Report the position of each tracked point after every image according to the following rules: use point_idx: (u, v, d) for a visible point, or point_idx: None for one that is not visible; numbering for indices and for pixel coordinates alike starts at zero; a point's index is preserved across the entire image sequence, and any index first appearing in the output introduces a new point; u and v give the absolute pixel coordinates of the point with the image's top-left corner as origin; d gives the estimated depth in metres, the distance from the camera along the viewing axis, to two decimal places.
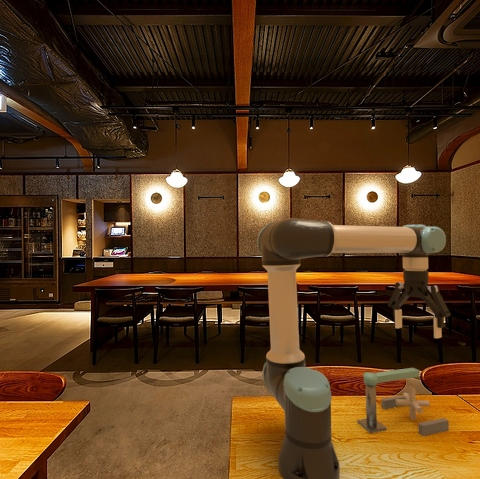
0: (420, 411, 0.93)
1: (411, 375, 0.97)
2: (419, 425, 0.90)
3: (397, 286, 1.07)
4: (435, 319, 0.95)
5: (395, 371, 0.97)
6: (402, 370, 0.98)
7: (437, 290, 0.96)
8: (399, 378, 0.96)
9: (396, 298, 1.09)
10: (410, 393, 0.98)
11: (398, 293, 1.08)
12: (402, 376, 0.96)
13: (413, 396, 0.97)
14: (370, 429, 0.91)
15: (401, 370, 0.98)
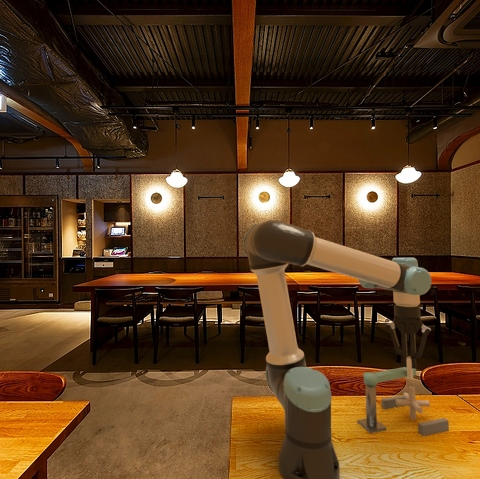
0: (420, 411, 0.93)
1: None
2: (419, 425, 0.90)
3: (390, 328, 0.99)
4: (410, 360, 0.95)
5: (393, 370, 0.98)
6: (400, 369, 0.99)
7: None
8: (397, 377, 0.97)
9: (398, 342, 0.99)
10: (410, 393, 0.98)
11: (395, 335, 0.99)
12: (400, 375, 0.97)
13: (413, 396, 0.97)
14: (370, 429, 0.91)
15: (399, 369, 0.99)
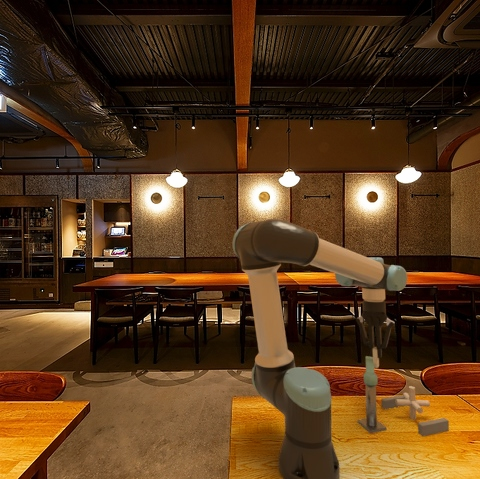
0: (420, 411, 0.93)
1: None
2: (419, 425, 0.90)
3: (359, 321, 1.09)
4: (376, 351, 1.05)
5: (368, 364, 1.04)
6: (368, 361, 1.06)
7: None
8: None
9: (366, 334, 1.09)
10: (410, 393, 0.98)
11: (363, 327, 1.09)
12: None
13: (413, 396, 0.97)
14: (370, 429, 0.91)
15: (368, 361, 1.06)
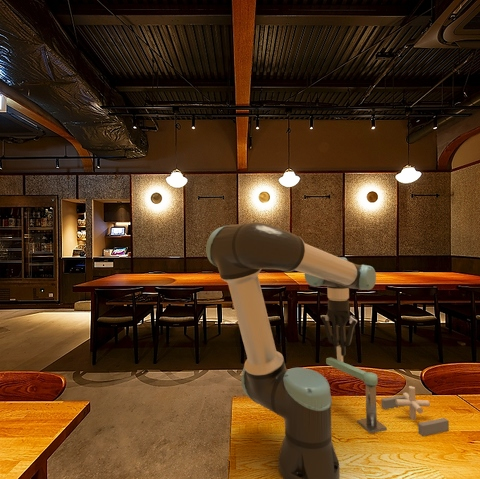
0: (420, 411, 0.93)
1: None
2: (419, 425, 0.90)
3: (324, 320, 1.11)
4: (340, 348, 1.08)
5: (345, 365, 1.03)
6: (338, 362, 1.05)
7: (355, 324, 1.07)
8: None
9: (331, 332, 1.12)
10: (410, 393, 0.98)
11: (329, 326, 1.12)
12: None
13: (413, 396, 0.97)
14: (370, 429, 0.91)
15: (339, 362, 1.05)
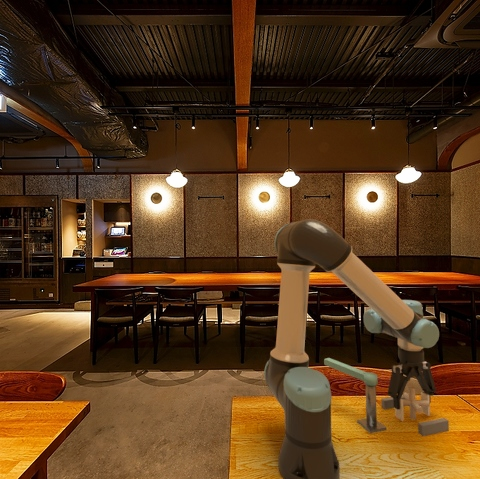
0: (420, 411, 0.93)
1: None
2: (419, 425, 0.90)
3: None
4: None
5: (343, 365, 1.03)
6: (337, 363, 1.05)
7: (395, 371, 0.96)
8: None
9: (428, 381, 1.00)
10: (410, 393, 0.98)
11: (425, 374, 1.00)
12: None
13: (413, 396, 0.97)
14: (370, 429, 0.91)
15: (337, 363, 1.05)
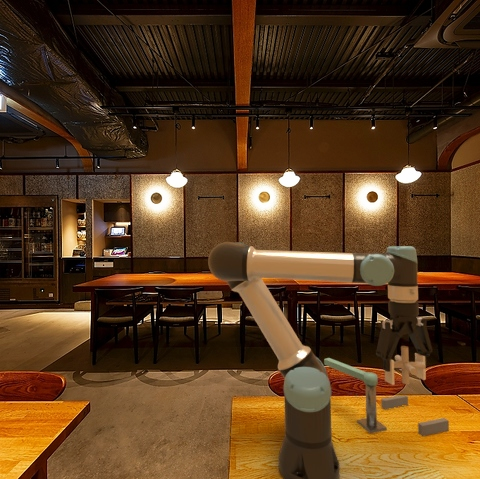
0: (414, 372, 0.79)
1: None
2: (419, 425, 0.90)
3: None
4: None
5: (343, 365, 1.03)
6: (337, 363, 1.05)
7: (385, 327, 0.82)
8: None
9: (424, 340, 0.85)
10: (402, 353, 0.83)
11: (421, 332, 0.86)
12: None
13: (406, 357, 0.83)
14: (370, 429, 0.91)
15: (337, 363, 1.05)
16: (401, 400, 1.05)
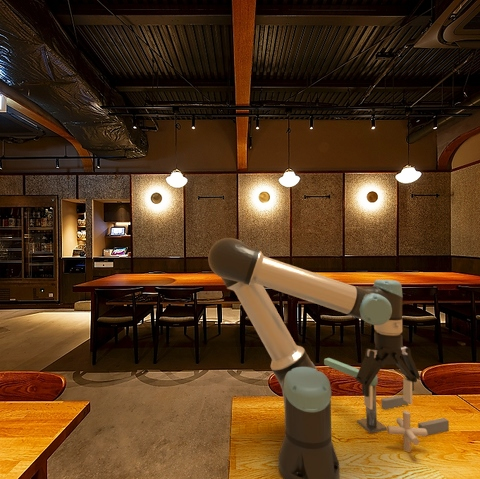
0: (416, 442, 0.78)
1: None
2: (419, 425, 0.90)
3: None
4: None
5: (343, 365, 1.03)
6: (337, 363, 1.05)
7: (369, 355, 0.87)
8: None
9: (411, 368, 0.90)
10: (404, 419, 0.83)
11: (407, 360, 0.90)
12: None
13: (408, 423, 0.82)
14: (370, 429, 0.91)
15: (337, 363, 1.05)
16: (401, 400, 1.05)
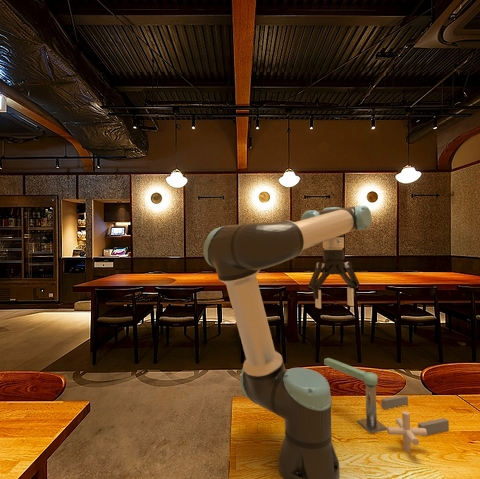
0: (416, 443, 0.78)
1: None
2: (419, 425, 0.90)
3: None
4: None
5: (343, 365, 1.03)
6: (337, 363, 1.05)
7: (318, 266, 1.08)
8: None
9: (352, 278, 1.12)
10: (404, 420, 0.83)
11: (349, 272, 1.12)
12: None
13: (407, 423, 0.82)
14: (370, 429, 0.91)
15: (337, 363, 1.05)
16: (401, 400, 1.05)
